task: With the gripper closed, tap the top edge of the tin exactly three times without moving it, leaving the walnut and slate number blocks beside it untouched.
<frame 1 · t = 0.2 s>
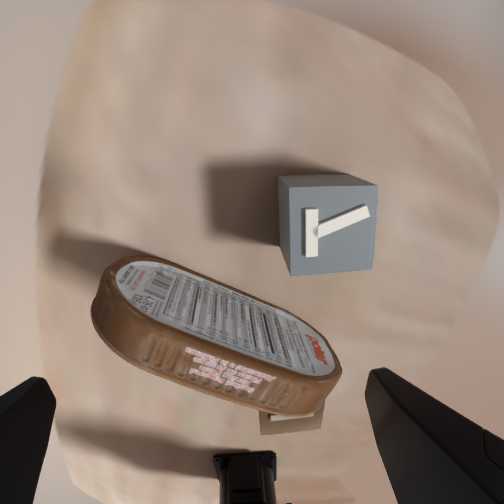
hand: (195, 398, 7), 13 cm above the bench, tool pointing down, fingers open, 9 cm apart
tin: (225, 296, 22), on the bench
slate number block: (314, 210, 20), on the bench
walnut number block: (284, 373, 24), on the bench
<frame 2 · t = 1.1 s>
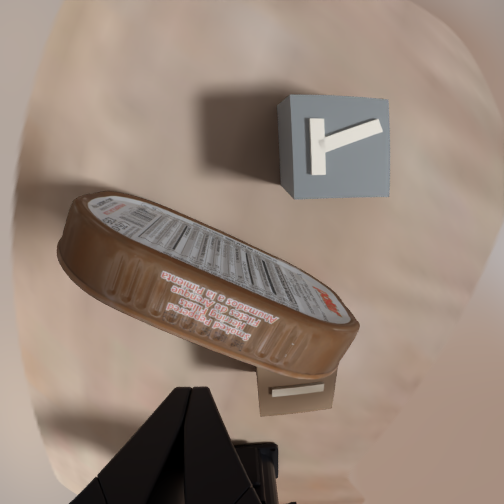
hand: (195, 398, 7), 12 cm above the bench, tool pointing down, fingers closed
tin: (218, 246, 19), on the bench
slate number block: (318, 144, 17), on the bench
walnut number block: (287, 344, 21), on the bench
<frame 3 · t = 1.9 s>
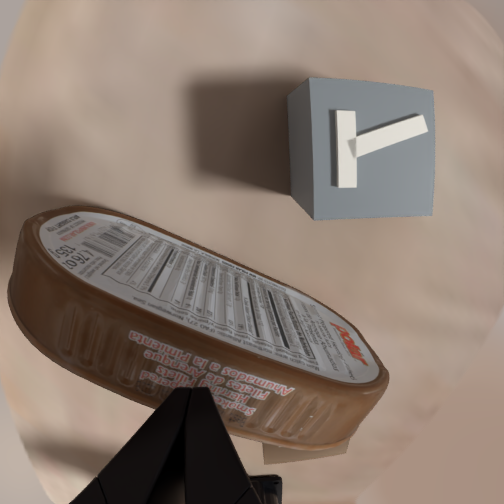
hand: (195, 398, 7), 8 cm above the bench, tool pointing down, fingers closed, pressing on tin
tin: (213, 270, 16), on the bench, touching gripper
slate number block: (337, 145, 14), on the bench
walnut number block: (295, 379, 18), on the bench
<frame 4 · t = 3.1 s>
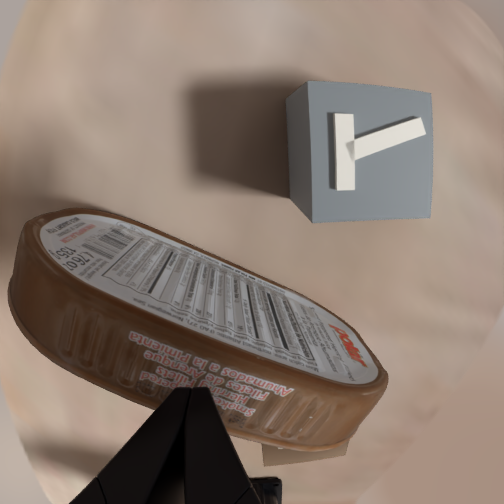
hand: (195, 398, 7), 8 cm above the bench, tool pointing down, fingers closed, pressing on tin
tin: (213, 273, 16), on the bench, touching gripper
slate number block: (336, 148, 14), on the bench
walnut number block: (294, 382, 18), on the bench
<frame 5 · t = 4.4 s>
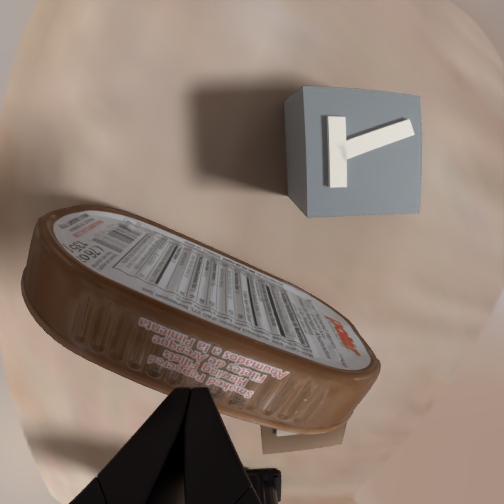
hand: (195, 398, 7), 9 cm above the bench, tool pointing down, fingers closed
tin: (215, 267, 16), on the bench
slate number block: (332, 148, 14), on the bench
walnut number block: (293, 372, 19), on the bench
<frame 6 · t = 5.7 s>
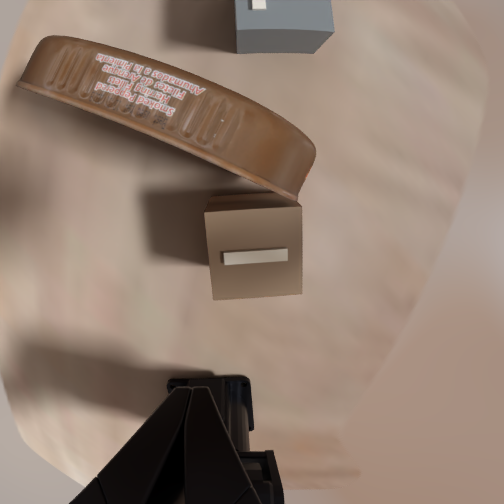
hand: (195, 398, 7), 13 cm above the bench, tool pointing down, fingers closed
tin: (176, 115, 17), on the bench
slate number block: (273, 20, 15), on the bench
walnut number block: (251, 230, 20), on the bench
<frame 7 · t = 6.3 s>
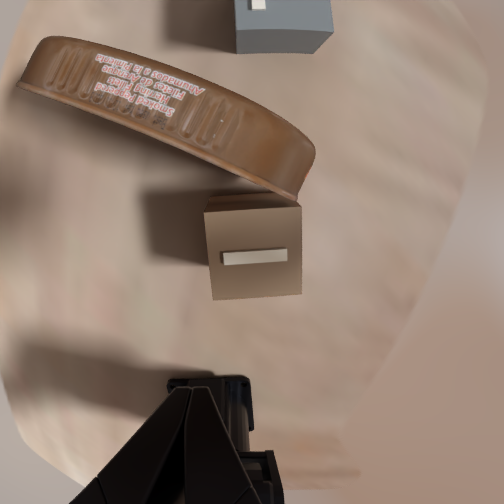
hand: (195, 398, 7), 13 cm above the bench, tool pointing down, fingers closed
tin: (175, 115, 17), on the bench
slate number block: (272, 21, 15), on the bench
walnut number block: (251, 230, 20), on the bench
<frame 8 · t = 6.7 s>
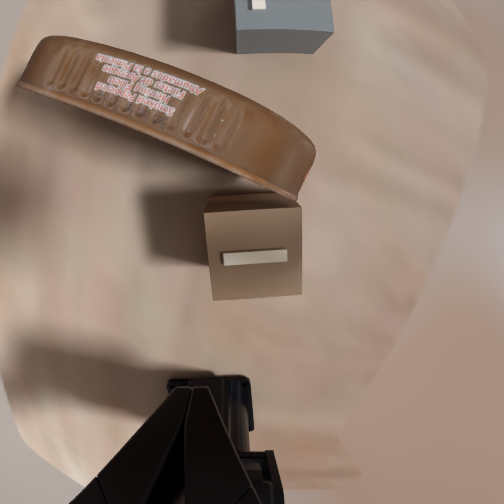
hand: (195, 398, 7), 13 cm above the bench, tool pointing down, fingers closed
tin: (175, 115, 17), on the bench
slate number block: (272, 21, 15), on the bench
walnut number block: (251, 230, 20), on the bench
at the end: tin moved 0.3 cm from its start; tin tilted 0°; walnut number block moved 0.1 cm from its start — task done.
